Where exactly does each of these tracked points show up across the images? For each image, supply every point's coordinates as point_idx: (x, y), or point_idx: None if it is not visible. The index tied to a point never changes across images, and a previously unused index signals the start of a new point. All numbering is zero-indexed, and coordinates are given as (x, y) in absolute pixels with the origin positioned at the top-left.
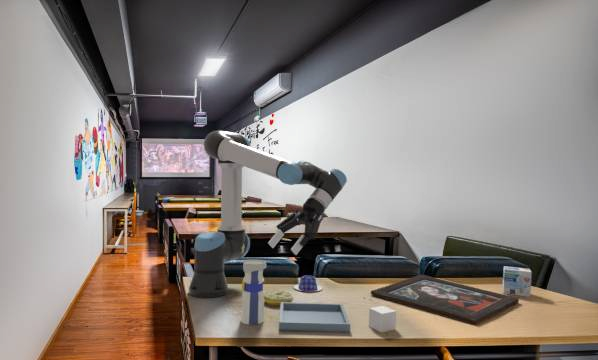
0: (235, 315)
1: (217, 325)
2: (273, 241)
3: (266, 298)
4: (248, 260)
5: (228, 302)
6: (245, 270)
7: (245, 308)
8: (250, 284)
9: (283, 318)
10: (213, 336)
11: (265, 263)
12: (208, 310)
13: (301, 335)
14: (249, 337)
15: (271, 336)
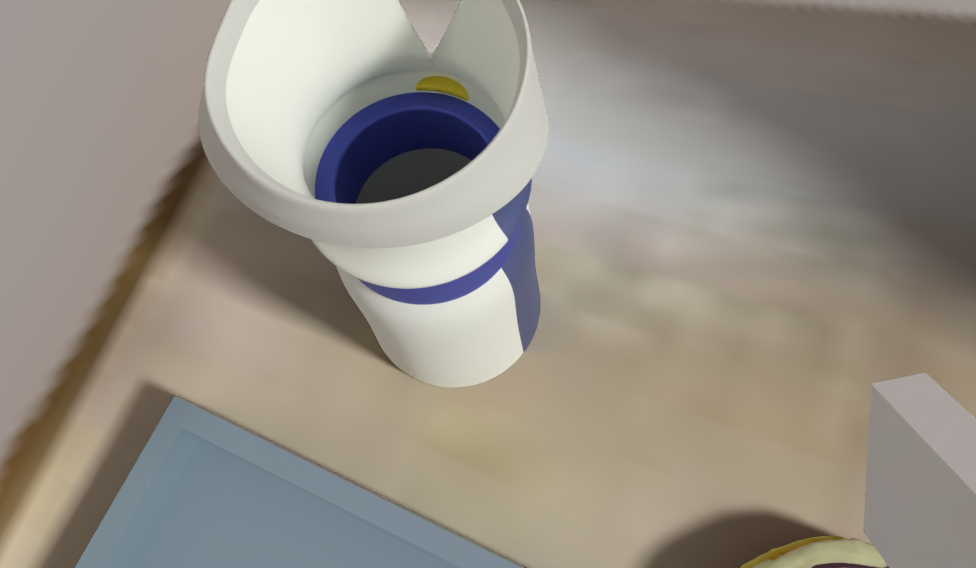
0: (596, 224)
1: None
2: (942, 527)
3: (806, 544)
4: (519, 25)
5: (919, 256)
6: None
7: (402, 196)
8: (338, 127)
9: (364, 523)
10: None
11: (254, 184)
12: (757, 83)
13: (54, 521)
14: (190, 196)
15: (139, 323)
